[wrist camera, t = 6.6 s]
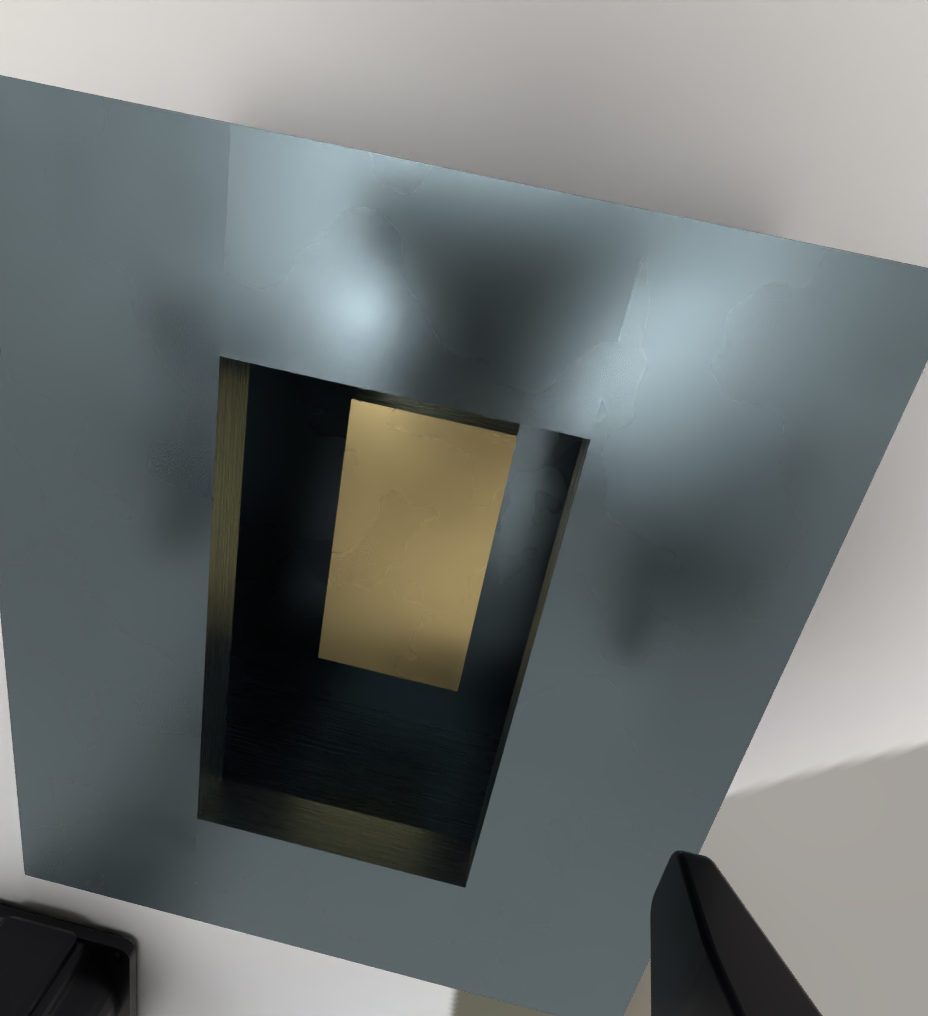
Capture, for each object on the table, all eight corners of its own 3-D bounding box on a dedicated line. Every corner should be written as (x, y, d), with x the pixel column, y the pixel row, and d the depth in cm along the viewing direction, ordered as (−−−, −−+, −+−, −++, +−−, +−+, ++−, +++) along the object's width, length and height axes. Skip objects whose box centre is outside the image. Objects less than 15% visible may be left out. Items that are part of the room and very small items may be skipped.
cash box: (598, 767, 20) (616, 1031, 13) (196, 667, 20) (24, 874, 14) (780, 254, 14) (966, 276, 8) (219, 136, 15) (-52, 64, 8)
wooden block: (471, 630, 17) (457, 691, 15) (349, 601, 18) (318, 657, 15) (524, 404, 15) (517, 436, 13) (383, 373, 15) (351, 398, 13)
